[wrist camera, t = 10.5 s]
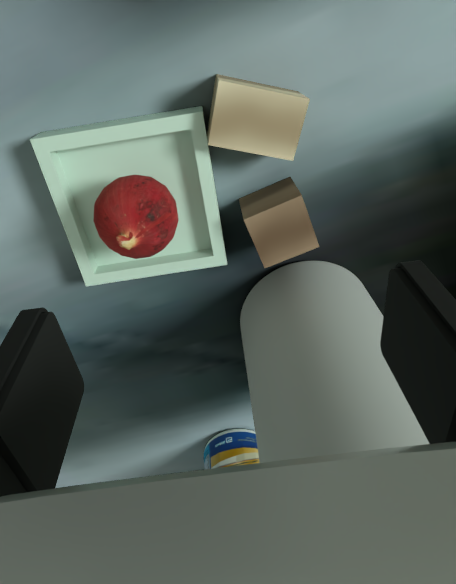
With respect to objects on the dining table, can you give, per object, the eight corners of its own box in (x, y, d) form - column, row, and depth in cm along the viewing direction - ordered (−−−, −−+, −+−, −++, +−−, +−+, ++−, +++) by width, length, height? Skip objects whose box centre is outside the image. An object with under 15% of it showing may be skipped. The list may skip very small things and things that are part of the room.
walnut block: (238, 198, 34) (243, 219, 31) (289, 176, 34) (301, 195, 30) (258, 243, 37) (264, 268, 33) (306, 223, 36) (319, 246, 32)
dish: (40, 132, 31) (29, 139, 29) (202, 105, 30) (202, 111, 28) (92, 272, 37) (86, 286, 35) (225, 251, 37) (227, 264, 35)
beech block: (216, 73, 30) (218, 79, 26) (297, 91, 30) (309, 99, 27) (206, 132, 32) (207, 145, 28) (283, 146, 32) (293, 160, 29)
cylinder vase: (356, 357, 45) (498, 654, 24) (239, 364, 44) (278, 673, 23) (376, 253, 38) (599, 536, 17) (238, 260, 37) (291, 561, 16)
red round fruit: (150, 146, 31) (138, 180, 24) (193, 209, 34) (193, 255, 27) (88, 187, 32) (60, 230, 25) (135, 244, 35) (120, 297, 28)
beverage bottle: (189, 455, 52) (185, 663, 35) (229, 415, 48) (246, 624, 31) (243, 476, 55) (263, 677, 38) (284, 441, 51) (327, 643, 34)
